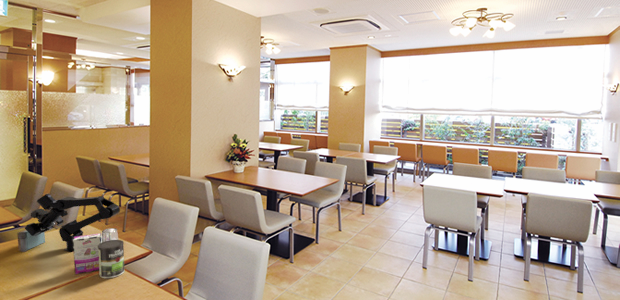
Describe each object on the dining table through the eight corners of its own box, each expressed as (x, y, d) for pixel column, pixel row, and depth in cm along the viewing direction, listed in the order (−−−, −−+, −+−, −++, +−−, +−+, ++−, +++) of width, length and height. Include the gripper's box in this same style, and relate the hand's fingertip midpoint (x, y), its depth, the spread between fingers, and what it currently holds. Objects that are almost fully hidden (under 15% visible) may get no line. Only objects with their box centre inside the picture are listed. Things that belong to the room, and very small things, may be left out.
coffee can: (129, 271, 164) (128, 242, 162) (107, 280, 155) (105, 250, 153) (116, 266, 169) (115, 238, 167) (94, 274, 160) (92, 245, 158)
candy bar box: (103, 265, 169) (101, 232, 167) (103, 269, 165) (101, 236, 163) (76, 270, 164) (73, 236, 162) (74, 274, 160) (72, 240, 158)
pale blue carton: (46, 242, 195) (45, 224, 193) (24, 252, 181) (22, 233, 180) (39, 242, 195) (38, 224, 194) (16, 252, 182) (15, 232, 181)
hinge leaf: (45, 242, 194) (44, 225, 193) (24, 252, 181) (22, 233, 180) (41, 242, 194) (40, 225, 193) (20, 251, 182) (18, 233, 180)
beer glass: (122, 258, 178) (120, 229, 176) (109, 263, 171) (107, 233, 170) (112, 255, 181) (111, 227, 179) (99, 260, 174) (98, 231, 172)
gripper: (57, 199, 194) (40, 218, 197) (26, 209, 176) (8, 229, 178) (71, 214, 194) (54, 232, 197) (41, 225, 176) (24, 245, 178)
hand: (36, 234), depth 188 cm, fingers closed
